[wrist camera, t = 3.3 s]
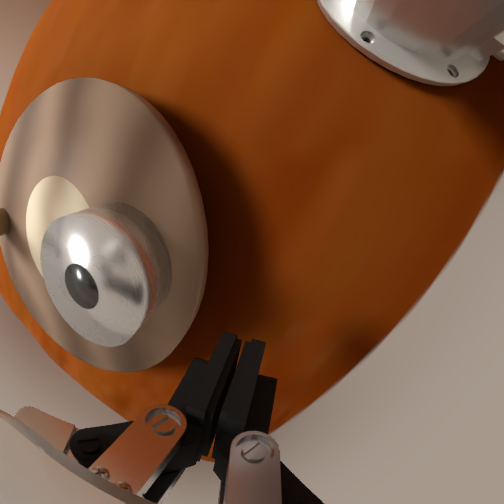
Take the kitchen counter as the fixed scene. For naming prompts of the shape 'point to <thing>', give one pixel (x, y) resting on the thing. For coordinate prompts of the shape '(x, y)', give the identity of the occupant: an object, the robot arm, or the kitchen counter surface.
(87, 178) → the disc
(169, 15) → the kitchen counter surface
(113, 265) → the cover
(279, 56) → the kitchen counter surface
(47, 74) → the kitchen counter surface
